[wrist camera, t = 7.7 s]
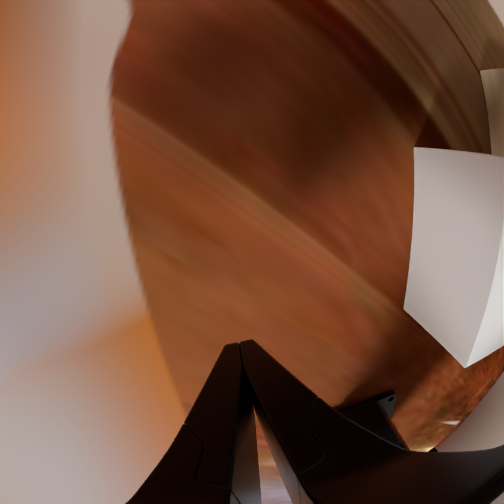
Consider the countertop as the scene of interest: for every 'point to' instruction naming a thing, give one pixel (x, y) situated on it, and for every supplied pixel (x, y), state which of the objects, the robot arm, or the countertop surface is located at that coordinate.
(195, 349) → the countertop surface
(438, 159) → the block
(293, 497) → the robot arm
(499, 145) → the board
